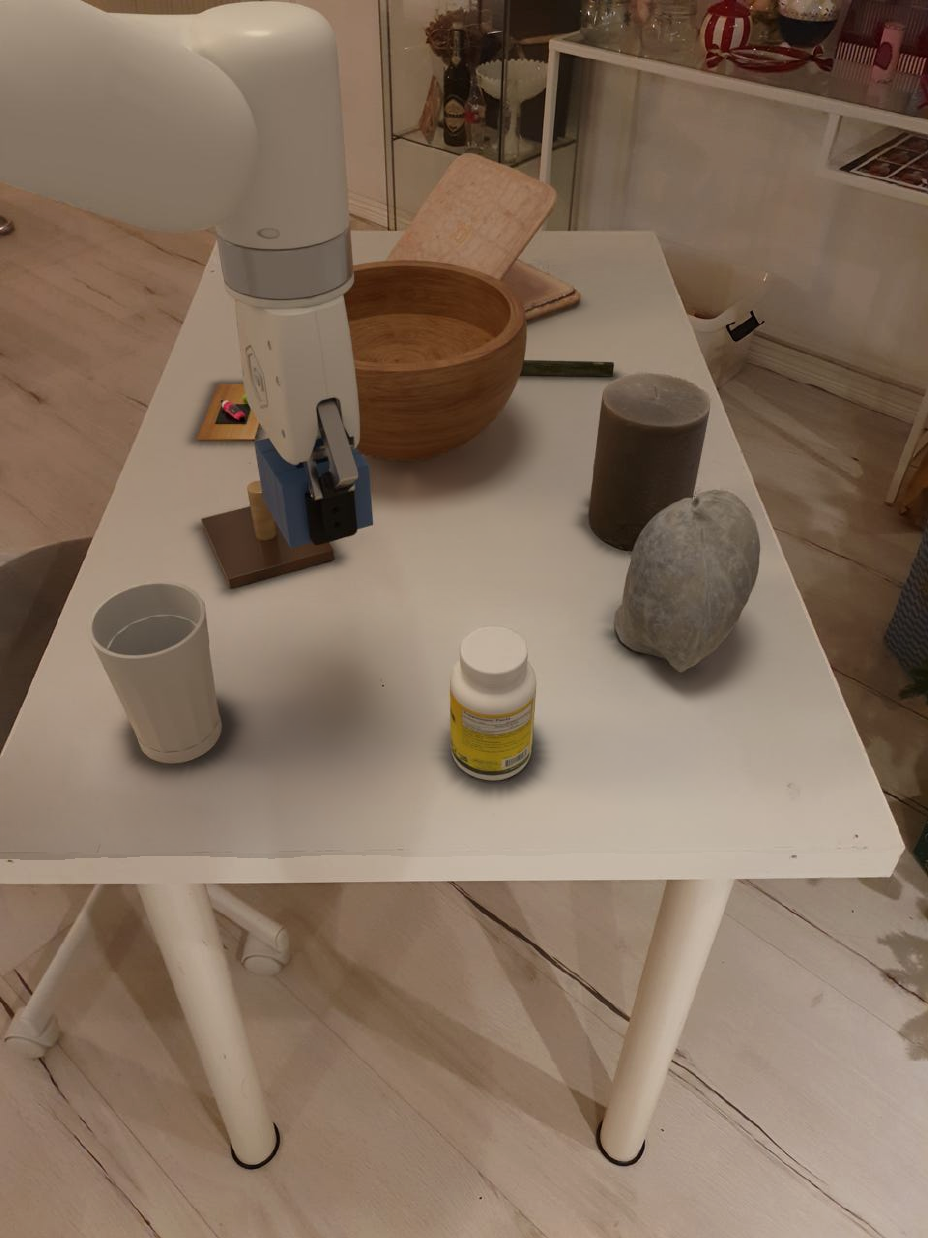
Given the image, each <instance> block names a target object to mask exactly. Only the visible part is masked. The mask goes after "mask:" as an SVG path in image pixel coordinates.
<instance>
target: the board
mask: <svg viewBox="0 0 928 1238" xmlns="http://www.w3.org/2000/svg"><path fill="white" fill-rule="evenodd" d="M211 398H212V399H211V401H210V404H209V405H208V409H207V411H206V413H205V416H204V419H203V421H202V424H201V427H200V429H199V432H198V434H197V437H196V441H209V442H210V441H212V442H213V441H214V442H215V441H216V442H217V441H219V442H222V441H223V442H224V441H227V442H228V441H230V442H233V441H234V442H238V441H239V442H255V441H256V436H257V433H258V430H259V427H260V423H259V422H258V420H257V418H256V417H255V415H254V414H253V412H252V410H251V408H250V406H249V404H248V401H247V398H246V395H245V389H244V383H217V386H216V387H215V391H214V392H213V395H212V397H211Z"/></svg>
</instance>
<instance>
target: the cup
mask: <svg viewBox="0 0 928 1238" xmlns="http://www.w3.org/2000/svg"><path fill="white" fill-rule="evenodd" d="M207 618H208V617H207V611H206V604H205V602H204V600H203V598H202V597H201V595H200V594H199V592H197V591H196V590H194V589H193V588H191V587H189V586H187V585H185V584H183V583H178V582H175V581H167V580H157V581H156V580H154V581H145V582H139V583H135V584H132V585H129V586H126V587H124V588H122V589H119V590H118V591H115V592H114V593H112V594H110V595H109V596H108V597H106V598H105V599H104V600H102V601H101V602H100V603H99V604H98V605H97V606H96V607H95V609H94V610H93V611H92V612H91V615H90V617H89V620H88V622H87V636H88V639H89V641H90V643H91V644H92V647H93V648H94V650H95V652H96V655H97V656H98V659H99V661H100V663H101V665H102V666H103V669H104V671H105V673H106V675H107V677H108V679H109V682H110V683H111V686H112V687H113V689H114V691H115V694H116V697H117V698H118V700H119V702H120V704H121V706H122V708H123V711H124V713H125V715H126V717H127V719H128V721H129V723H130V725H131V727H132V730H133V732H134V734H135V736H136V738H137V741H138V745H139V746H140V749H141V751H142V752H143V753H144V754H145V756H147V757H148V758H150V759H151V760H153V761H156V762H157V763H158V762H159V763H162V764H181V763H186V762H190V761H192V760H195V759H198V758H199V757H201V756H203V755H204V754H206V753H207V752H208V751H210V750H211V749H213V747H214V746H215V744H216V743H217V742H218V740H219V739H220V736H221V734H222V729H223V724H222V717H221V715H220V711H219V708H218V701H217V694H216V687H215V686H216V685H215V679H214V672H213V664H212V658H211V650H210V638H209V637H210V635H209V629H208V619H207Z"/></svg>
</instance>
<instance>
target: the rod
mask: <svg viewBox="0 0 928 1238" xmlns="http://www.w3.org/2000/svg"><path fill="white" fill-rule="evenodd" d="M614 369H615V363H614V361H594V360H593V361H592V360H591V361H587V360H585V361H584V360H548V359H547V360H545V359H544V360H542V359H541V360H540V359H537V360H535V359H524V361H523V366H522V370H521V373H520V375H525V376H526V375H531V376H532V375H533V376H534V375H538V376H560V377H561V376H562V377H564V376H566V377H569V376H572V377H613V376H614Z"/></svg>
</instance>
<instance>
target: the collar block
mask: <svg viewBox="0 0 928 1238" xmlns="http://www.w3.org/2000/svg"><path fill="white" fill-rule="evenodd" d="M253 445H254V450H255V456H256V457H255V458H256V462H257V468H258V477H259V481H260V482H261V488H262V494H263V500H264V503H265V505H266V506H267V508H268V510H269V512H270V513H271V515H272V517H273V518H274V520H275V522H276V524H277V525H278V527H279V529H280V530H281V532H282V534H283V536H284V537H285V539H286V541H287V542H288V544H289V546H290V548H294V547H297V546H301V545H304V544H308V543H312V541H311V539H310V533H309V525H308V517H307V509H306V502H305V494H304V493H308V492H310V491H309V487H308V482H307V478H306V474H305V469H304V465H303V462H299V464H298V465H292V464H290V463H288V462H287V461H286V460H284V459H283V458H282V457H281V455H280V454H279V453H278V451H277V450H276V448H275V447H274V445H273V444H272V442H271V441H270V439H269V438H268V437H267V438H264V439H258V440H254V441H253ZM323 445H324V444H323V440H322V438H319V439H316V442H315V445H314V448H315V447H319V446H323ZM351 451H352V454H353V457H354V461H355V464H356V467H357V470H358V479H357V480H356V481H355V482H354V483H355V490H354V496H355V507H356V519H357V530H361V529H364V528H369V527H371V526H374V516H373V503H372V501H373V500H372V488H371V474H370V472H371V471H370V464H369V463H368V461H367V460H366V459H365V457H364V456H363V454H362V453H360V452H359V451H358V449H357V448H355V449H354V450H351ZM315 463H316V467H317V472H318V476H319V478H320V477H321V475H322V474H323V473H326V472H329V468H330V463H329V459H328V458H324V459H320V460H316V461H315Z"/></svg>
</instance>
